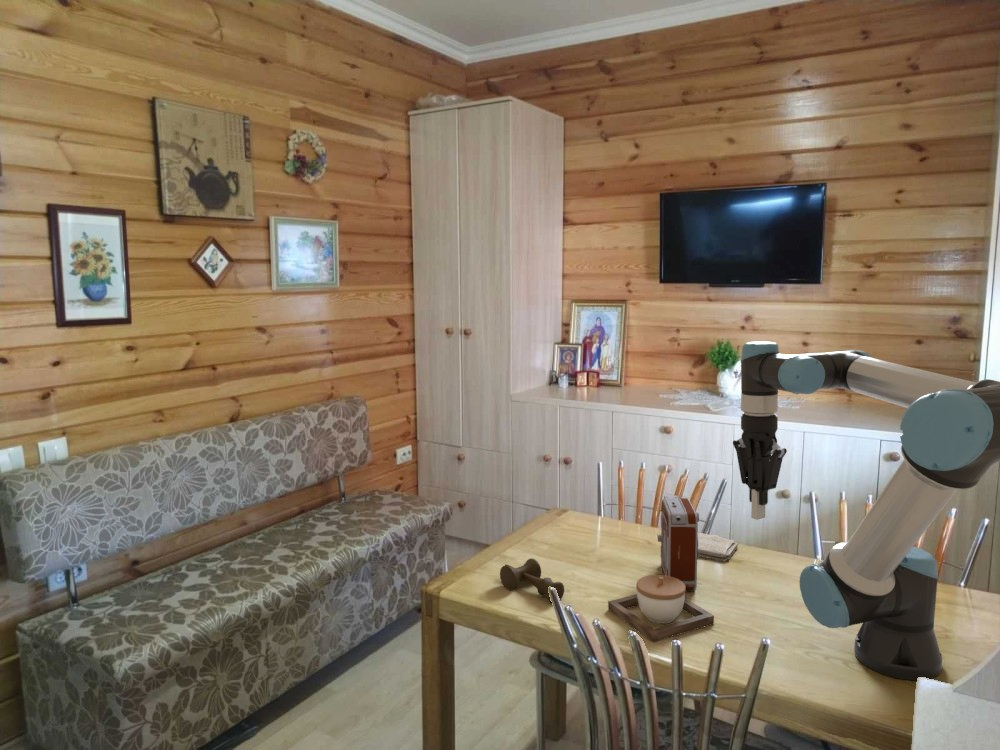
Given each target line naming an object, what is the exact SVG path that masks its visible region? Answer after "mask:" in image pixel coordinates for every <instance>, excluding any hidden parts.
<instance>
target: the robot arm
mask: <svg viewBox="0 0 1000 750" xmlns="http://www.w3.org/2000/svg"><path fill="white" fill-rule="evenodd" d="M779 350H780V349H779V344H778V343H777V342H774V341H749V342H746V343H744V344H742V347H741V359H740V379H741V381H740V382H741V383H740V384H741V387H740V389H741V395H740V397H741V398H740V411H741V412H742V413H741V415H740V429H741V430H742V434H741V437H740V438H739V439H736V440H733V441H732V445H733V447H734V449H735V451H736V452H735V453H736V457H737V462H738V469H739V474H740V481H741V483H742V484H743V485H746V486H747V487H748V489H749V490H748V491H749V492H748V493H749V497H748V499H749V503H751V509H750V510H751V519H752V520H753V519H754V520H756V521H757V520H761V519H765V518H766V505H768V502H769V499H768V498H769V493H768V492H769V491H771V490H773V489H776V488H777V484H778V480H779V477H780V476H779V475H780V471H781V467H782V464H783V463H782V462H783V459H784V457H785V455H786V454H787V451H788V450H787V449H786V448H785V447H781V446H780V445H779V444H778V439H777V437H776V434H777V431H778V425H779V424H778V422H779V420H778V414H777V412H778V411H779V410H778V407H779V404H778V399H779V395H778V393H779V391H784V392H787V393H792V394H796V395H800V394H802V395H811V394H814V393H815V392H816V391H818V390H827V389H828V390H830V389H843V390H846V391H849V392H853V393H857V394H859V395H860V394H861V395H863V396H867V397H871V398H873V399H877V400H880V401H884V402H887V403H890V404H893V405H896V406H899V407H902V408H905V409H906V411H904V414H903V417H902V419H901V422H900V425H899V426H900V427H899V429H900V431H902V435H901V434H900V443H901V446H900V447H901V448H900V451H901V454H902V457H903V460H902V462H901V464H899V466H898V468H897V469H896V471H895V472H894V474H893V475H892V477H891V478H890V479H889V480H888V482H887V483H886V485H885V487H884V488H883V490H882V491H881V492H880V494H879V495H878V497H877V499H876V500H875V502H874V503H873V504H872V506H871V507H870V509H869V510H868V512H867V513H866V515H865V517H863V518H862V521H860V523H859V525H858V527H857V528H856V529H855V531H854V532H853V534H852V535H851V537H850V538H849V539H848V541H843V542H839V543H837V544H835V545H834V546H833V547H832V548H831V549H830V550H829V552H828V554H827V555H826V556H825V558H824V559H823V560H822V562H820V563H812V564H810V565H807V566H805V567H804V568H803V569H802V570H801V573H800V576H799V590H800V593H801V597H802V600H803V603H804V605H805V607H806V609H807V611H808V612H809V614H810V615H811V617H813V618H814V620H815V621H817V623H819V624H820V625H821V626H824V627H826V628H828V629H839V628H848V627H850V626H855V625H859V624H861V626H860V628H859V630H858V632H857V634H856V637H855V639H854V648H853V650H854V651H853V653H854V655H855V656H856V658H857V659H858V660H859V661H860V663H862V664H863V665H865V666H866V667H868V668H869V669H871V670H872V671H875V672H877V673H880V674H883V675H885V676H888V677H891V678H896V679H900V680H907V681H918V680H917V678H918V677H926V678H931V679H934V678H936V677H938V676H939V675H940V674H941V672H942V671H943V670H942V668H943V667H942V666H943V656H942V653H941V652H940V651H941V650H940V647H939V644H938V639H937V636H936V634H935V629H934V627H935V615H936V604H937V603H936V600H937V593H938V579H939V574H938V561H937V559H936V558H935V556H933V554H931V553H930V552H928V551H927V550H925V549H922V548H920V547H916V546H915V545H916V544H917V543H918V541H919V540H920V539H921V537H922V536H923V534H925V532H926V531H927V530H928V529H929V527H930V526H931V524H932V523H933V522H934V520H936V518H937V517H938V515H939V514H940V513H941V512H942V511H943V509H944V508H945V507H946V506H947V504H948V503H949V502H950V500H951V499H952V498H953V497H954V495H955V494H956V493H957V491H968V490H971V489H972V488H974V487H975V486H977V484H978V483H979V481H980V480H981V479H982V478H983V477H984V476H985V474H986V473H987V472H988V470H989V469H990V468H991V467H992V466H993V465H994V464H996V463H1000V381H998V380H993V379H987V378H986V379H980V380H979V381H977V382H975V381H971V380H966V379H963V378H959V377H958V378H957V377H955V376H951V375H946V374H941V373H938V372H937V373H936V372H932V371H930V370H925V369H921V368H918V367H917V368H916V367H912V366H907V365H904V364H899V363H894V362H891V361H887V360H882V359H878V358H873V357H872V355H870V354H869V353H868V352H866V351H864V350H854V349H853V350H852V349H847V350H842V351H841V350H840V351H829V352H827V351H826V352H813V353H800V354H787V353H786V354H785V353H780V351H779ZM932 677H933V678H932Z"/></svg>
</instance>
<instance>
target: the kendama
mask: <svg viewBox="0 0 1000 750" xmlns="http://www.w3.org/2000/svg"><path fill="white" fill-rule="evenodd" d="M499 572H500V573H499V577H500V582H501V585H502V586H503V587H504V588H505V589H506V588H507V589H506V590H508V589H509V590H508V591H513V590H514V589H515V588H516V586H517V585H518V584H519V582H521V581H523V580H526V581H527V582H529V583H530V584H531V585H532V586H533V587H535V588H536V590H537V593H538V594H539V595H540V596H545V597H547V600H548V601H549V602H550V603H552V602H551V601H550V597H549V593H548V587H549V586H551V587H554V588H556V590H557V593H558V596H559V598H560V600H562V598H563V596H564V594H565V585H564V584H563V582H561V581H554V582H553V581H552V579H551V578H550V577H543V578H541V576H542V568H541V565H540V562H539V561H538V560H536V559H535V558H528V559H527V560H526V561H525V563H524V564H523V565H521V566H519V567H513V566H511V565H509V564H505V565H502V566H501V568H500V571H499Z"/></svg>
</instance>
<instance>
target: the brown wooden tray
mask: <svg viewBox="0 0 1000 750" xmlns="http://www.w3.org/2000/svg"><path fill="white" fill-rule="evenodd" d="M607 603H608V606H607V609H608V611H610V612H611V613H612V614H614V615H615V616H616V617H617V618H619V619H620V618H621V619H620V620H622V621H623V622H624V621H625V622H624V623H625V624H627V623H628V624H629V627H631V628H632V627H633V629H634V628H635V629H636V630H635V629H634V630H635V631H637V632H638V631H639V632H640V633H639V632H638V633H639V634H641V635H642V636H643V637H645V638H647V640H649V641H650V642H652V643H655V642H659V641H662V640H665V639H664V638H666V639H668V638H667V637H669V638H672V637H675V636H674V635H676V636H677V634H679V635H681V634H680V633H682V634H685V633H684V632H686V633H689V632H691V631H695V630H694V629H696V630H698V629H697V628H699V629H701V627H702V628H705V627H704V626H706V627H708V626H707V625H709V626H711V625H710V624H712V625H714V624H713V623H714V622H715V615H714V614H712V613H711V612H709V611H708V610H705V609H704V608H702V607H700V606H699V605H697V604H696V603H694V602H693V601H692V600H689V599H687V598H686V597H685V601H684V606H683V609H682V611H684V610H685V612H686V611H687V612H686V613H688V614H689V615H690V616H692V615H693V616H692V617H689V618H687V619H682V620H680V621H675V622H671V623H667V624H666V625H665V624H664V625H662V626H659V627H658V626H657V627H655V628H654V627H652V626H651V625H649V624H648V623H647V622H645V621H644V620H643V619H641V618H640V617H638V615H635V614H634V613H633V612H631V611H630V610H629V607H630V608H633V606H634V607H636V606H639V604H638V599H637V593H636V594H631V595H628V596H624V597H623V596H622V597H620V598H616V599H612V600H608V602H607ZM628 624H627V625H628ZM688 631H689V632H688ZM672 635H673V636H672ZM671 636H672V637H671ZM661 639H662V640H661Z"/></svg>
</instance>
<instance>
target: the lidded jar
mask: <svg viewBox="0 0 1000 750" xmlns="http://www.w3.org/2000/svg"><path fill="white" fill-rule="evenodd" d="M636 594H637V599H638V604H639V605H638V606H639V608H640V610H641V612H642V613H643V614H644V615H645V616H646V619H647V620H648V621H650V620H651V621H650V622H652V621H653V622H652V623H655V622H657V623H656V624H660V623H666V624H669V623H668V622H670V623H673V622H674V621H673V620H675V619H676V618H677V617H679V616H680V614H681V613H682V611H683V606H684V601H685V598H686V587H685V584H684V583H683V582H682V581H681V580H679V579H677V578H674V577H671V576H666V575H663V574H649V575H645V576H643V577H640V578H639V579H638V580H637V581H636Z"/></svg>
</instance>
